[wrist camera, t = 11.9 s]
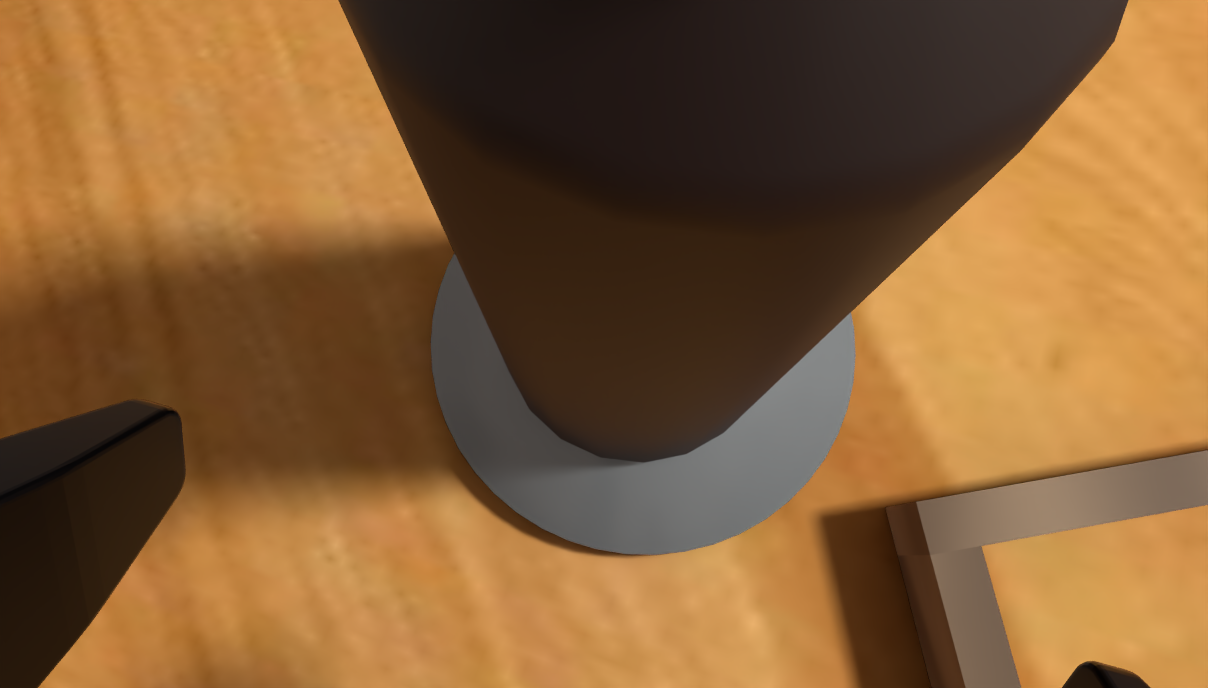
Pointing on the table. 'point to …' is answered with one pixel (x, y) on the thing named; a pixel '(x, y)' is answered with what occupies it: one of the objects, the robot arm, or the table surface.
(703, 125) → the vinegar
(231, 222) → the table surface
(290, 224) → the table surface
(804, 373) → the slate coaster
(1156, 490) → the bottle caddy
